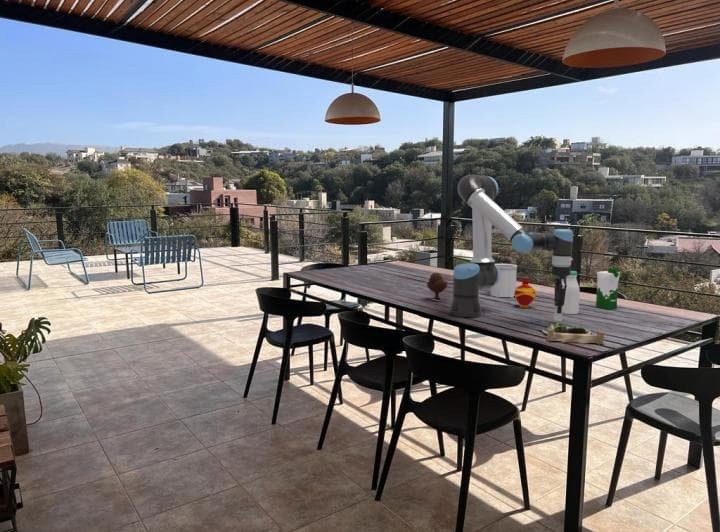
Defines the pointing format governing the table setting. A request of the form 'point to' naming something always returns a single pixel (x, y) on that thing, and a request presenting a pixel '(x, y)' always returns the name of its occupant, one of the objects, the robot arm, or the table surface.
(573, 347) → the table surface
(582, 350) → the table surface
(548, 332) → the stop rail
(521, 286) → the potion bottle
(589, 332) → the salad plate
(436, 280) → the ice cream bowl
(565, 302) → the milk bottle
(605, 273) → the milk carton
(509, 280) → the utensil holder
